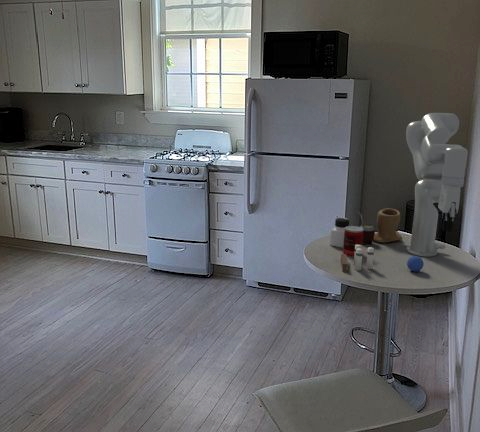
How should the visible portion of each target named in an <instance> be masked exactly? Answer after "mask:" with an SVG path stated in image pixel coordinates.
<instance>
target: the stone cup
mask: <svg viewBox="0 0 480 432" xmlns="http://www.w3.org/2000/svg"><path fill="white" fill-rule="evenodd" d="M400 222H401V213H400V211H399V210H397V209H394V208H389V207H388V208H387V207H386V208H383V209H380V210H379V211H378V212H377V217H376V227H377V233H375V235H374V239H373V241H374V242H378V243H389V242H395V241H397V242H398V241H401V240H403V236H402V234H400V231H397V229H398V227H399V225H400Z"/></svg>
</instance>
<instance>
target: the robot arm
mask: <svg viewBox="0 0 480 432" xmlns="http://www.w3.org/2000/svg"><path fill="white" fill-rule="evenodd" d="M459 127H460V120H459V117H458V116H457V115H456V114H455V113H453V112H451V113H450V112H430V113H427V114H425V115H424V116H423V117H422V119H421V120H417V121H412V122H410V123H409V124H408V125H407V127H406V131H405V137H406V138H405V139H406V143H407V146H408V148H409V152H411V155H412V159H413V165H414V166H413V167H414V173H415V176H416V178H417V179H418V180H419V181H417V182H416V183H415V186H414V214H413V221H412V230H411V239H410V245H409V246H407V247H406V252H407V253H408V254H410V255H412V256H418V257H426V258H427V257H428V258H429V257H430V258H431V257H435V256H437V255H438V249H440V250H444V249H446V245H445V244H443V243H438V242H436V235H437V229H438V227H437V226H438V219H439V211H438V209H439V210H440V211H441V221H440V229H441V230H442V231H443V232H452V231H453V223H454V218H455V217H456V216H455V215H457V214H458V212H459V207H460V200H461V188H463V187H464V183H465V173H466V169H467V168H466V167H467V160H468V153H469V152H468V149H467V148H465V147H463V146H462V145H461V144H448V143H447V142H448V141H449V140H450V139H451V137H452V136H454V135H456V134H457V132H458V130H459ZM435 203H436V204H437V203H438V205H437V207H438V209H437V208H436V206H435V205H434V204H435Z"/></svg>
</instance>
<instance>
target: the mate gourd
mask: <svg viewBox="0 0 480 432" xmlns="http://www.w3.org/2000/svg"><path fill="white" fill-rule="evenodd" d="M356 213H358V214H359V216H360V219H361V223H362V224H361V225H360V226H359V227H361V228H363V241H362V246H365V245H366V244H367V245H374V244H373V241H374V240H373V239H374V235H375V234H376V233H375V232H376V231H375V227H374V225H371V224H364V220H363V219H364V217H363V215H362V214H361V213H360V212H359V211H357V210H356Z"/></svg>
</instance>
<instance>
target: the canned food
mask: <svg viewBox="0 0 480 432" xmlns="http://www.w3.org/2000/svg"><path fill="white" fill-rule="evenodd" d="M362 241H363V228H361V227H360V226H356V225H349V226H347V227H345V231H344V243H343V248H342V254H346V256H347V257H354V254H355V245H361V246H362V247H361V249H363V243H362Z"/></svg>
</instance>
